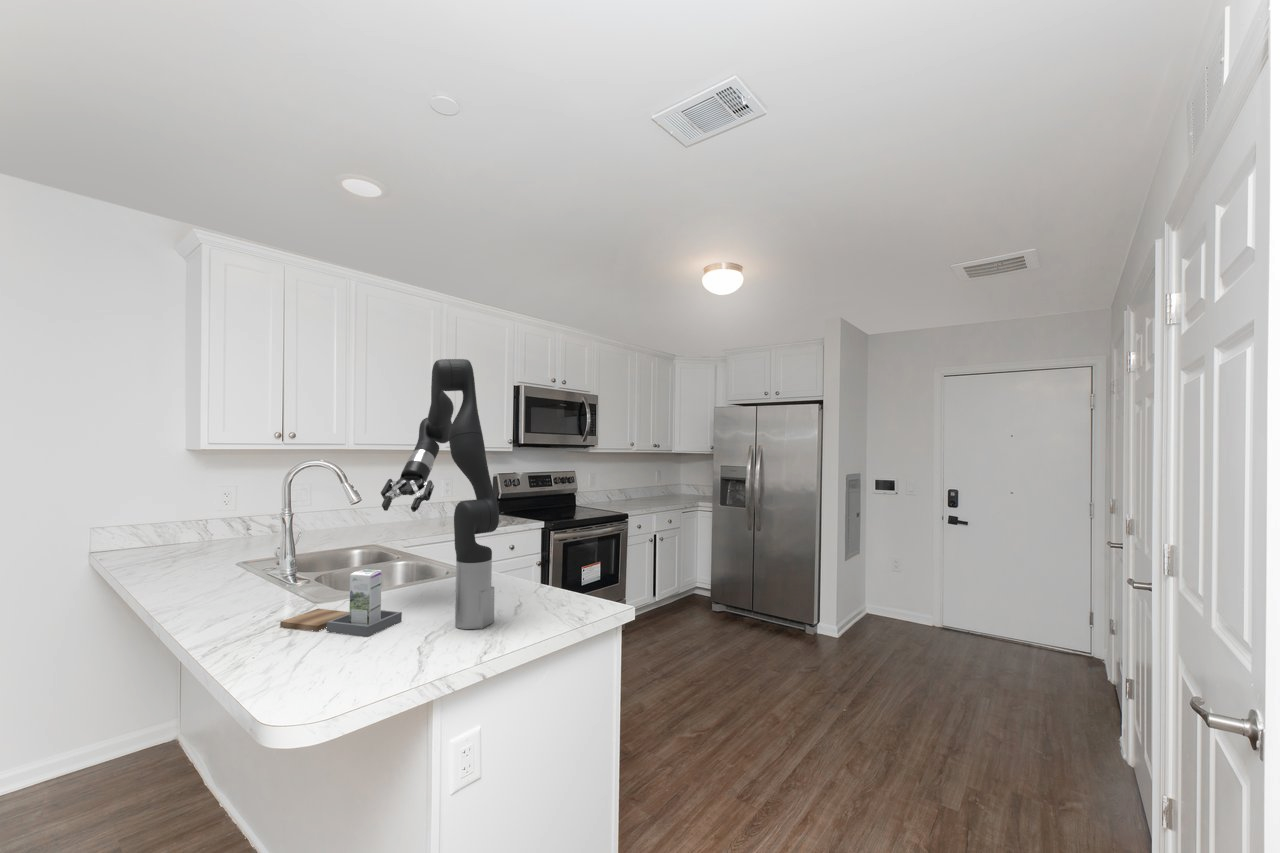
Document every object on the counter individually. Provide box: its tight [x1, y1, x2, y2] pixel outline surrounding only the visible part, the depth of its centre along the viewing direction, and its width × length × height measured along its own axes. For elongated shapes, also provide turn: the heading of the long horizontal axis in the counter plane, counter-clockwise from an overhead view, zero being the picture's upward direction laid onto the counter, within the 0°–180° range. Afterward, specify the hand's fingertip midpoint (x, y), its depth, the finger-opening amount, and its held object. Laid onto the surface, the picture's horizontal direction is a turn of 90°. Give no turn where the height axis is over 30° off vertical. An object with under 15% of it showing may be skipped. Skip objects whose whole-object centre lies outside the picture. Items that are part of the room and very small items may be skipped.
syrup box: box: [349, 569, 383, 625], centre depth 148 cm, size 6×6×14 cm
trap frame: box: [325, 609, 403, 638], centre depth 148 cm, size 13×13×2 cm
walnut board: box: [279, 608, 350, 632], centre depth 151 cm, size 12×12×2 cm
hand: (398, 509), depth 163 cm, fingers open, 8 cm apart
